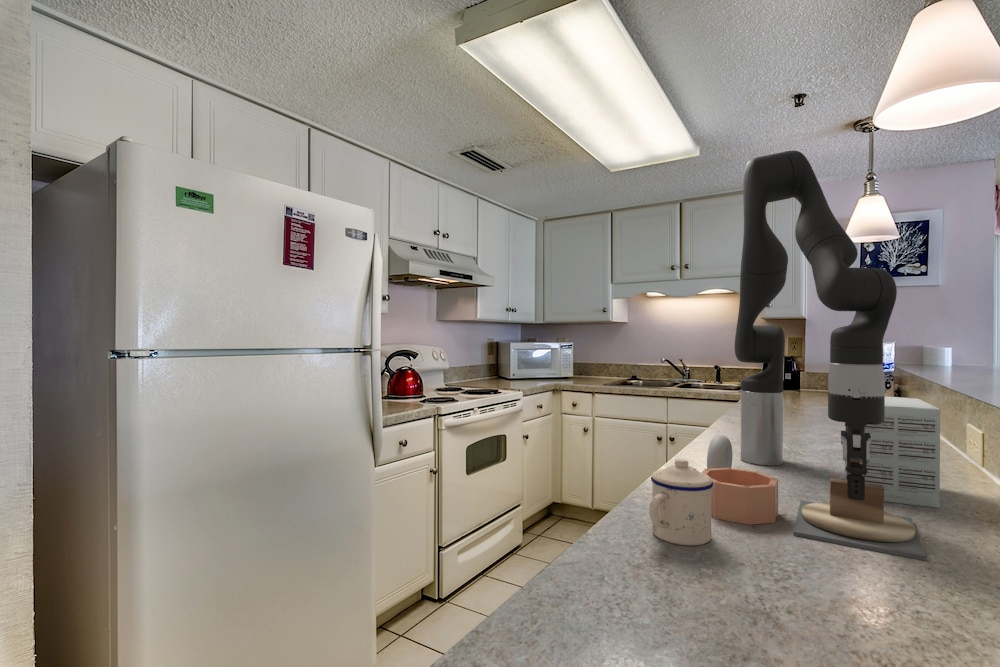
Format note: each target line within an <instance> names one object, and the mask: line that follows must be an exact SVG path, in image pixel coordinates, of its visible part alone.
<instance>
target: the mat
mask: <svg viewBox="0 0 1000 667" xmlns="http://www.w3.org/2000/svg"><path fill="white" fill-rule="evenodd" d="M811 503H816V502H813V501H806V500H803V499H802V500H801V499H800V502H799V506H798V511H797V513H796V518H795V519H796V520H795V523H794V527H793V532H792V533H793V534H792V535H793V536H794V537H795V536H796V537H801V538H806V539H812V540H816V541H821V542H827V543H831V544H837V545H843V546H847V547H848V546H849V547H853V548H859V549H863V550H868V551H873V552H880V553H884V554H885V553H886V554H891V555H895V556H899V557H900V556H901V557H905V558H911V559H916V560H921V561H927V554H926V552H925V549H924V547H923V543H922V542H921V539H920V536H919V534H918V531H917V528H916V527H915V529H916V535H915V538H914V539H912V540H909V541H903V542H882V541H873V540H865V539H859V538H854V537H850V536H845V535H841V534H837V533H834V532H831V531H828V530H825V529H822V528H819V527H817V526H815V525H813V524H811V523H809V522H807V521H806V520H805V519H804V518H803V517H802V507H803V506H804V505H807V504H811ZM894 515H895V516H898V517H900V518H902V519H904V520H907V521H908V522H910V523H911V524H913V525H914V526H915V524H914V521H913V519H912V517H909V516H903V515H896V514H894Z"/></svg>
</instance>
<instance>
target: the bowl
mask: <svg viewBox="0 0 1000 667" xmlns="http://www.w3.org/2000/svg"><path fill="white" fill-rule="evenodd" d="M700 472H701V473H704V474H706V475H708V476H709V477H710V478H711V479H712V482H713V486H712V487H711V518H714V519H718V520H721V521H728V522H733V523H737V524H743V525H748V526H749V525H759V524H772V523H775V524H776V520H777V516H778V514H779V479H778V478H775V477H773V476H770V475H768V474H766V473H763V472H760V471H756V470H749V469H741V468H736V467H735V468H734V467H731V468H713V469H707V468H704V469H703V470H702V471H700Z"/></svg>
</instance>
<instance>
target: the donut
mask: <svg viewBox="0 0 1000 667" xmlns="http://www.w3.org/2000/svg"><path fill="white" fill-rule="evenodd" d="M733 457H734V456H733V446H732V442H731V440H730V438H729V437H728V436H726V435H723V434H718V435H714V437H713V438H712V439H711V440H710V442H709V446H708V449H707V455H706V469H713V468H733V467H732V466H733Z"/></svg>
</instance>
